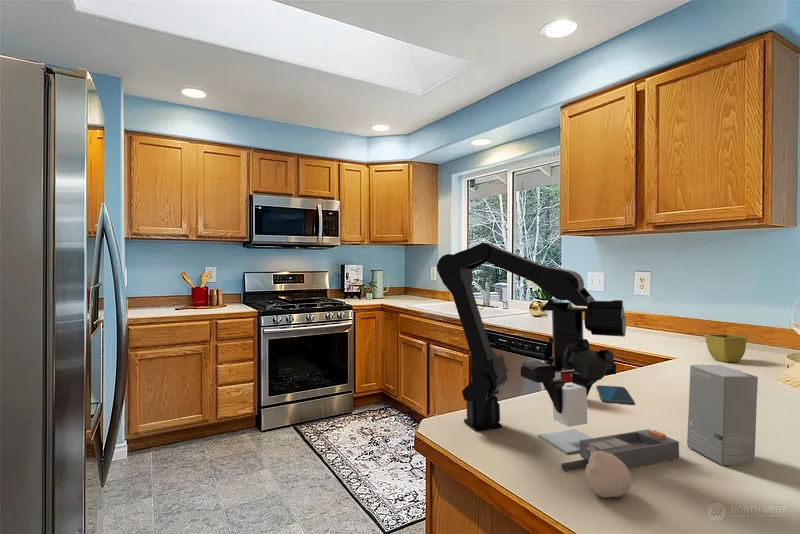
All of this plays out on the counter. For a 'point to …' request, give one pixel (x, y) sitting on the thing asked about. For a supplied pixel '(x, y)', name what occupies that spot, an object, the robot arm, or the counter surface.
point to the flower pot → (726, 347)
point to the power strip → (630, 448)
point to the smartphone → (614, 395)
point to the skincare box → (722, 414)
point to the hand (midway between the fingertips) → (569, 411)
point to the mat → (565, 440)
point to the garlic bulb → (607, 474)
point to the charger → (572, 405)
